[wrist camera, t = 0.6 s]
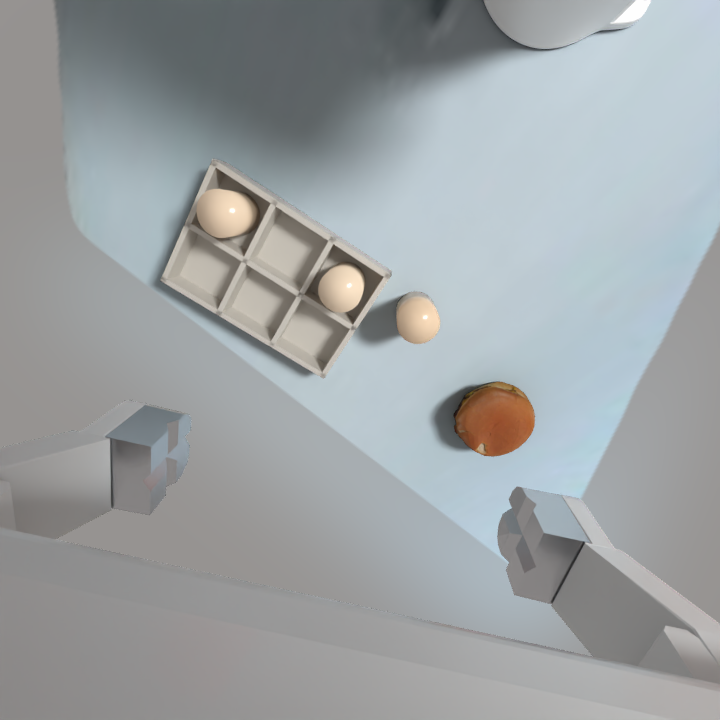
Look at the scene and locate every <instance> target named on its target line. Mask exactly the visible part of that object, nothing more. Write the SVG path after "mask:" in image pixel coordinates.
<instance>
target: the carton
mask: <svg viewBox="0 0 720 720" xmlns="http://www.w3.org/2000/svg"><path fill="white" fill-rule="evenodd" d="M211 189H222V190H231V191H239V192H244V193H247V194H248V195H250V196H251V197H252V198H253V199H254V200H255V201H256V203H257V205H258V207H259V210H260V220H259V223H258V226H257V227H256V228H255V230H254V231H252V232H251V233H248V234H244V235H238V236H232V237H226V238H218V237H214V236H212V235H210V234H209V233H207V232H206V231H205V230H204V229H203V228H202V226H201V225H200V223H199V221H198V218H197V212H196V209H197V203H198V200H199V199H200V197H201V196H202V195H203V194H204V193H205V192H206V191H208V190H211ZM340 262H352V263H354V264H356V265H358V266H359V267H360V268H361V269H362V271H363V273H364V275H365V279H366V284H365V288H364V291H363V294H362V297H361V299H360V302H359V303H358V305H357V306H356V307H355V308H353V309H352V310H350V311H348V312H343V313H339V312H334V311H332V310H330V309H328V308H327V307H326V306H325V305H324V304H323V303H322V301H321V300H320V297H319V293H318V287H319V283H320V280H321V279H322V277H323V276H324V275H325V274H326V273H327V272H328V271H329V270H330V269H331V268H332V267H333V266H334V265H336V264H337V263H340ZM391 275H392V271H391V270H390V269H388V268H387V267H385V266H384V265H382V264H380V263H379V262H377V261H376V260H374V259H373V258H371V257H370V256H368V255H367V254H365V253H364V252H362V251H361V250H359V249H358V248H356V247H355V246H353V245H352V244H350V243H348V242H347V241H345V240H344V239H342V238H341V237H339V236H338V235H336V234H335V233H333V232H332V231H330V230H329V229H327V228H326V227H324V226H323V225H321V224H320V223H318V222H317V221H315V220H313V219H312V218H310V217H309V216H307V215H306V214H304V213H303V212H301V211H300V210H298V209H297V208H295V207H294V206H292V205H291V204H289V203H288V202H286V201H285V200H283V199H281V198H280V197H278V196H277V195H275V194H274V193H272V192H271V191H269V190H268V189H266V188H265V187H263V186H262V185H260V184H259V183H257V182H256V181H254V180H253V179H251V178H249V177H248V176H246V175H245V174H243V173H242V172H240V171H239V170H237V169H236V168H234V167H233V166H231V165H230V164H228V163H227V162H224V161H220V160H217V159H212V161H211V164H210V166H209V168H208V171H207V173H206V175H205V178H204V180H203V182H202V185H201V187H200V189H199V192H198V194H197V196H196V199H195V201H194V203H193V206H192V208H191V210H190V213H189V215H188V217H187V220H186V222H185V224H184V227H183V229H182V231H181V234H180V236H179V238H178V241H177V243H176V245H175V248H174V250H173V252H172V255H171V257H170V259H169V262H168V264H167V266H166V268H165V271H164V273H163V275H162V278H161V280H160V281H162V282H163V283H165V284H167V285H168V286H170V287H172V288H173V289H175V290H177V291H178V292H180V293H182V294H183V295H185V296H187V297H188V298H190V299H192V300H193V301H195V302H197V303H198V304H200V305H202V306H203V307H205V308H207V309H208V310H210V311H212V312H213V313H215V314H217V315H218V316H220V317H222V318H223V319H225V320H227V321H228V322H230V323H232V324H233V325H235V326H237V327H238V328H240V329H242V330H243V331H245V332H247V333H248V334H250V335H252V336H253V337H255V338H257V339H258V340H260V341H262V342H263V343H265V344H267V345H268V346H270V347H272V348H273V349H275V350H277V351H278V352H280V353H282V354H283V355H285V356H287V357H288V358H290V359H292V360H293V361H295V362H297V363H298V364H300V365H302V366H303V367H305V368H307V369H308V370H310V371H312V372H313V373H315V374H317V375H318V376H320V377H322V378H323V379H324V378H325V376H326V375H327V373H328V372H329V370H330V369H331V367H332V366H333V364H334V363H335V361H336V359H337V358H338V356H339V355H340V353H341V352H342V350H343V349H344V347H345V346H346V344H347V343H348V341H349V340H350V338H351V337H352V335H353V333H354V332H355V330H356V329H357V327H358V326H359V324H360V323H361V321H362V320H363V318H364V317H365V315H366V314H367V312H368V311H369V309H370V308H371V306H372V304H373V303H374V301H375V300H376V298H377V297H378V295H379V294H380V292H381V291H382V289H383V288H384V286H385V285H386V283H387V282H388V280H389V278H390V277H391Z"/></svg>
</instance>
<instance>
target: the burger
mask: <svg viewBox="0 0 720 720" xmlns="http://www.w3.org/2000/svg"><path fill="white" fill-rule="evenodd" d="M454 418H455V420H456V425H455V426H454V429H455V432H456V433H457V434H458V436H459V437H460V438H461V439H462V440H463V441H464V442H465V444H466V445H467V446H468V447H470V448H471V449H472V450H474V451H475V452H477V453H480V454H482V455H484V456H500V455H504V454H507V453H509V452H512V451H514V450H515V449H517V448H519V447H520V446H521V445H522V444H523V443H524V442H525V441H526V440H527V439H528V438H529V436H530V435H531V433H532V431H533V428H534V423H535V415H534V410H533V407H532V405H531V403H530V402H529V400H528V398H527V396H526V395H525V394H524V393H523V392H522V391H521V390H520V389H518V388H517V387H515V386H513V385H510V384H507V383H503V382H494V383H490V384H487V385H484V386H481V387H479V388H477V389H475V390H473V391H471V392H470V393H468V394H466V395H465V396H464V398H463V400H462V401H461V403H460V404H459V407H458V409H457V410H456V411H455V413H454Z"/></svg>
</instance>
